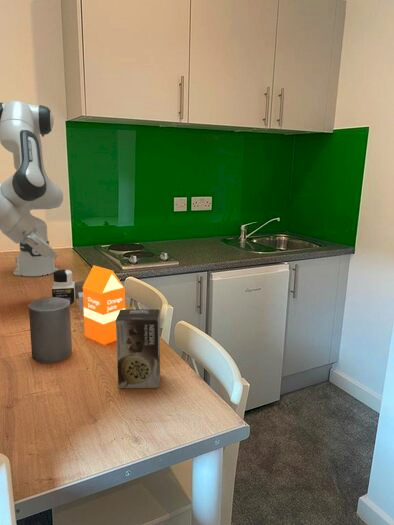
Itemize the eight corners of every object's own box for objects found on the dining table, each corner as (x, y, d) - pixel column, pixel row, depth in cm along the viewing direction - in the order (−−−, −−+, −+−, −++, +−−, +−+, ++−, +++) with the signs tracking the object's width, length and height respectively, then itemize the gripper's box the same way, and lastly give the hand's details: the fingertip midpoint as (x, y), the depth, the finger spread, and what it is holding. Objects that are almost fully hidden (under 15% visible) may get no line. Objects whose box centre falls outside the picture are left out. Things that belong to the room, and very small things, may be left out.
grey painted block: (78, 306, 134) (78, 292, 133) (93, 305, 136) (93, 291, 135) (79, 311, 129) (78, 297, 128) (95, 310, 131) (94, 295, 130)
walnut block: (70, 295, 145) (70, 282, 144) (83, 293, 148) (82, 280, 147) (77, 299, 141) (76, 285, 140) (89, 296, 145) (89, 283, 144)
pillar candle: (25, 353, 100) (21, 297, 96) (62, 342, 106) (59, 289, 103) (42, 367, 93) (37, 308, 89) (79, 355, 100) (77, 299, 96)
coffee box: (160, 373, 91) (160, 308, 88) (159, 389, 85) (159, 319, 81) (121, 373, 91) (120, 308, 87) (116, 388, 85) (115, 319, 81)
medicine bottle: (52, 308, 131) (50, 273, 129) (54, 301, 138) (52, 268, 135) (74, 306, 133) (73, 273, 130) (75, 300, 140) (74, 267, 137)
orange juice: (106, 327, 117) (104, 262, 112) (126, 336, 111) (124, 268, 107) (84, 336, 111) (81, 267, 106) (103, 345, 105) (101, 273, 101)
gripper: (33, 227, 116) (69, 256, 123) (25, 218, 133) (56, 244, 140) (18, 243, 114) (55, 271, 122) (11, 232, 132) (44, 257, 139)
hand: (55, 257), depth 131 cm, fingers closed
